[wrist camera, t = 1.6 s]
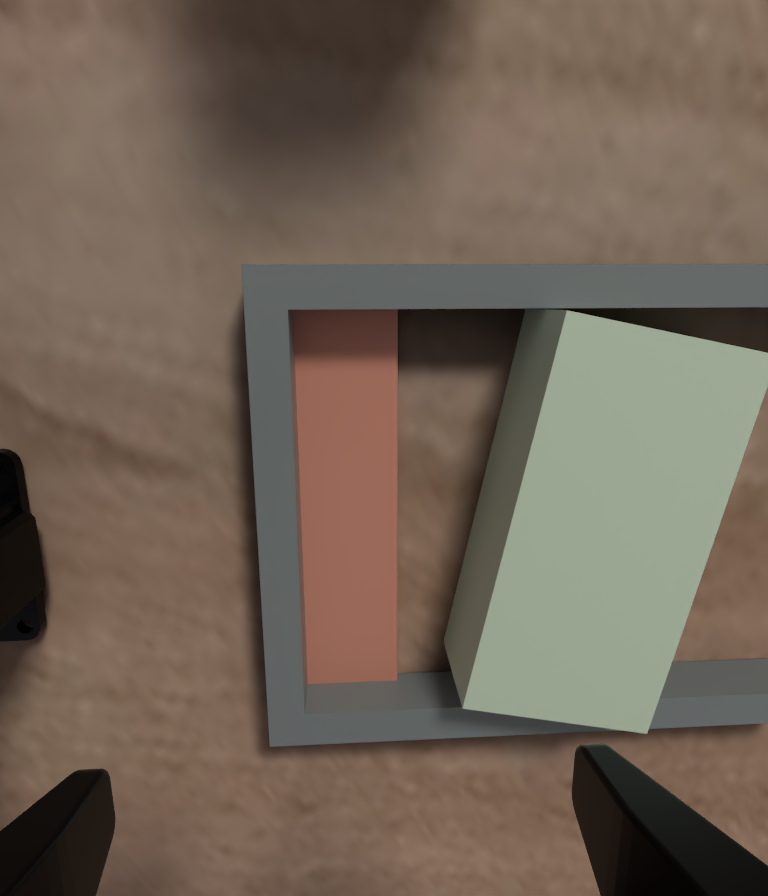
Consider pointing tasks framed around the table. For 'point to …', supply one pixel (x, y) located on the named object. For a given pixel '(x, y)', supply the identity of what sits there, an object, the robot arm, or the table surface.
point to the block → (597, 517)
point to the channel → (376, 489)
